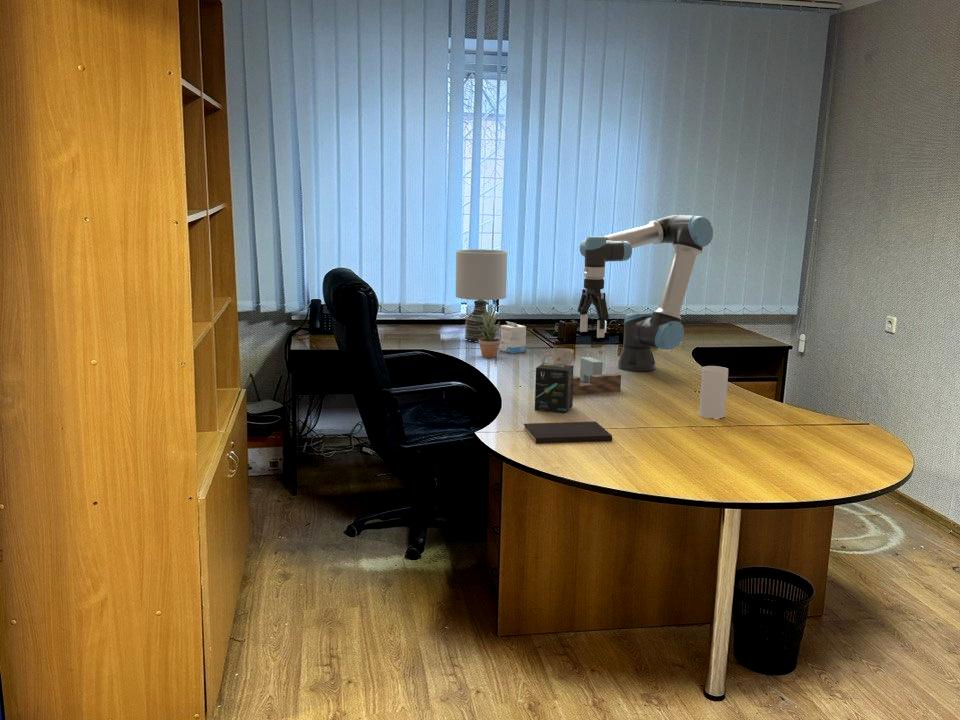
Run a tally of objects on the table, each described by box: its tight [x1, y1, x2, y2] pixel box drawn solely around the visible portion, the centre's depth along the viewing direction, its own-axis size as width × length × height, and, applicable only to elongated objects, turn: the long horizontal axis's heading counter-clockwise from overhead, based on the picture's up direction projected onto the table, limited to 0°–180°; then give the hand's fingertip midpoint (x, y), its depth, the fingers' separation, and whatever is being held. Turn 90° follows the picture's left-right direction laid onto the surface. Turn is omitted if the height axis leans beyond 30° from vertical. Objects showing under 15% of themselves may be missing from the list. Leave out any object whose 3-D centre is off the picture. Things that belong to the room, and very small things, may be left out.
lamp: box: [455, 248, 508, 341], centre depth 420 cm, size 24×24×42 cm
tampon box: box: [534, 362, 574, 414], centre depth 295 cm, size 11×9×15 cm
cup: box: [698, 365, 729, 419], centre depth 289 cm, size 8×8×16 cm
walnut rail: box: [573, 372, 622, 396], centre depth 320 cm, size 28×3×6 cm, turn 111°
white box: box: [500, 320, 527, 354], centre depth 396 cm, size 9×8×13 cm
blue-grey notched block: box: [579, 356, 604, 383], centre depth 336 cm, size 4×10×9 cm, turn 21°
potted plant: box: [477, 300, 501, 358], centre depth 383 cm, size 10×10×25 cm
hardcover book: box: [523, 421, 613, 445], centre depth 265 cm, size 16×23×2 cm
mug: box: [541, 347, 575, 365], centre depth 349 cm, size 8×13×10 cm, turn 78°
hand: (591, 334), depth 333 cm, fingers open, 13 cm apart
